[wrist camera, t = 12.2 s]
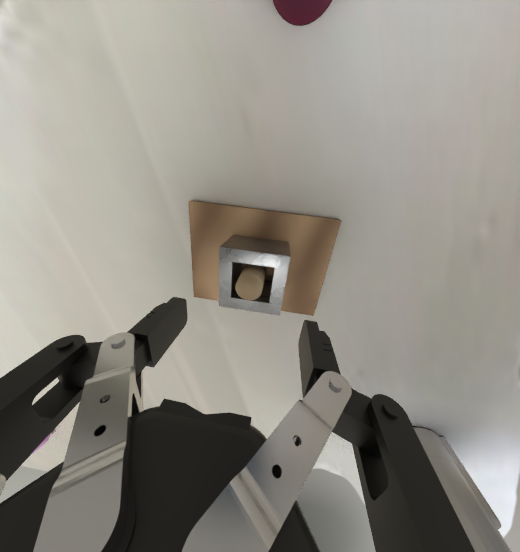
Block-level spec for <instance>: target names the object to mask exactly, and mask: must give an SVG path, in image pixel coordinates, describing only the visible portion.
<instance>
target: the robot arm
mask: <svg viewBox="0 0 520 552" xmlns="http://www.w3.org/2000/svg"><path fill="white" fill-rule="evenodd" d="M186 322H187V304H186V300H185V299H183V298H177V297H173V298H171V299H170V300H169V301H168V302H167V303H163V304H161V305H159V306H157V307H155V308H154V309H153V310H152V311H151V312H150V313H149V314H147V315H146V317H144V318H143V319H142V320H141V321H139V322H138V323H137V324H136V325H135V326H134V327H133V328H132V329H130V330H129V331H128V332H127V333H118V334H115V335H113V336H110V337H109V338H107V339H106V340H105V341H104V342H94V343H86V340H85V338H84V337H83V336H81V335H71V336H67V337H63V338H61V339H58V340H56V341H54V342H53V343H51V344H50V345H48V346H47V347H45V348H44V349H42V350H41V351H40V352H38V353H37V354H35V355H34V356H32V357H31V358H29V359H28V360H26V361H25V362H23V363H22V364H20V365H19V366H18V367H16V368H15V369H13V370H12V371H10V372H9V373H7V374H6V375H4V376H3V377H1V378H0V495H1V493H2V491H3V489H4V486H5V483H6V481H7V480H8V478H9V477H10V476H11V475H12V474H13V473H14V472H15V471H16V470H17V469H18V468H19V467H20V466H21V464H22V463H23V462H24V461H25V460H26V459H27V458H28V457H29V456H30V455H31V454H32V453H33V451H34V450H35V449H36V448H37V447H38V446H39V445H40V444H41V443H42V442H43V441H44V440H45V438H46V437H47V436H48V435H49V434H50V433H51V432H52V431H53V430H54V429H55V428H56V427H57V425H58V424H59V423H60V422H61V421H62V420H63V419H64V418H65V417H66V416H67V415H68V414H69V412H70V411H71V410H72V409H73V408H74V407H75V406H76V405H77V404H78V403H79V402H80V404H79V408H78V412H77V415H76V419H75V423H74V426H73V430H72V434H71V438H70V441H69V445H68V449H67V453H66V456H65V460H64V462H62V463H61V464H59V465H58V466H56V467H55V468H53V469H52V470H50V471H49V472H47V473H46V474H44V475H43V476H41V477H40V478H38V479H37V480H35V481H34V482H32V483H31V484H29V485H27V486H26V487H25V488H23V489H21V490H20V491H18V492H17V493H15V494H14V495H12V496H11V497H9V498H8V499H6V500H5V501H3V502H2V503H0V552H320V550H319V548H318V546H317V544H316V542H315V539H314V537H313V535H312V533H311V531H310V528H309V526H308V524H307V522H306V520H305V517H304V516H303V513H302V511H301V509H300V507H299V504H298V502H297V500H296V499H297V497H298V495H299V493H300V491H301V489H302V487H303V486H304V484H305V482H306V480H307V478H308V476H309V474H310V472H311V470H312V469H313V467H314V465H315V463H316V461H317V459H318V457H319V455H320V453H321V451H322V450H323V448H324V446H325V444H326V442H327V440H328V438H329V436H330V434H331V432H334V433H335V434H337V435H339V436H340V437H342V438H344V439H345V440H347V441H349V442H351V443H352V445H353V450H354V454H355V459H356V463H357V468H358V472H359V477H360V482H361V486H362V491H363V495H364V500H365V504H366V509H367V514H368V518H369V523H370V527H371V532H372V536H373V541H374V545H375V550H376V552H512V551H511V550H510V548H509V547H508V545H507V544H506V542H505V540H504V539H503V537H502V536H501V534H500V532H499V531H498V529H499V528H501V523H500V521H499V520H498V518H497V516H496V515H495V513H494V512H493V510H492V509H491V507H490V506H489V504H488V503H487V501H486V500H485V498H484V497H483V495H482V494H481V492H480V491H479V489H478V488H477V486H476V485H475V483H474V481H473V480H472V478H471V477H470V475H469V474H468V472H467V471H466V469H465V468H464V466H463V465H462V463H461V462H460V460H459V459H458V457H457V456H456V454H455V453H454V451H453V449H452V448H451V446H450V445H449V443H448V442H447V440H446V439H445V438H444V437H440V436H438V435H437V434H436V433H434V432H433V431H431V430H428V429H424V428H415V427H413V426H412V424H411V422H410V420H409V418H408V416H407V414H406V412H405V411H404V409H403V408H402V407H401V406H400V405H399V404H398V403H397V402H396V401H394V400H393V399H391V398H390V397H388V396H385V395H381V394H377V395H374V396H373V397H372V399H371V398H369V397H367V396H365V395H363V394H361V393H359V392H357V391H355V390H353V389H352V388H351V386H350V384H349V383H348V381H347V380H346V379H345V378H344V377H343V376H342V375H341V374H340V371H339V367H338V364H337V361H336V357H335V354H334V352H333V348H332V344H331V341H330V338H329V337H328V335H327V334H326V333H325V332H324V331H319V328H318V324H317V322H314V321H308V320H305V321H304V323H303V327H302V331H301V334H300V338H299V358H300V370H301V381H302V393H303V400H302V401H301V400H299V401H298V402H297V403H296V404H295V405H294V406H293V408H292V409H291V410H290V411H289V413H288V414H287V415H286V416H285V418H284V419H283V420H282V421H281V423H280V424H279V425H278V426H277V428H276V429H275V430H274V431H273V433H272V434H271V435H270V436H269V438H268V439H266V438H265V436H264V435H263V434H262V433H261V432H260V431H259V430H257V429H256V428H255V427H253V426H251V425H250V423H251V417H248V416H243V415H238V414H233V413H219V414H203V413H201V412H199V411H197V410H196V409H194V408H192V407H191V406H189V405H187V404H185V403H182V402H177V401H172V400H167V399H164V400H163V402H162V403H161V405H160V407H154V408H150V409H147V410H144V408H143V372H142V370H143V369H144V367H145V366H150V367H154V366H155V365H156V364H157V362H158V361H159V360H160V358H161V357H162V356H163V354H164V353H165V352H166V350H167V349H168V348H169V346H170V345H171V344H172V342H173V341H174V340H175V338H176V337H177V336H178V335H179V333H180V332H181V331H182V329H183V328H184V327H185V325H186ZM57 377H58V379H59V382H58V383H57V384H56V385H55V386H54V387H53V388H52V389H50V390H49V391H48V392H47V393H46V394H45V395H44V396H42V397H41V398H40V399H39V400H38V401H37V402H36V403H35V404H33V405H32V402H33V400H34V398H35V397H36V395H37V394H38V393H39V392H40V391H42V390H43V389H44V388H45V387H46V386H47V385H49V384H50V383H51V382H52V381H53V380H54V379H56V378H57Z"/></svg>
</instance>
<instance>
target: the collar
mask: <svg viewBox="0 0 520 552" xmlns="http://www.w3.org/2000/svg"><path fill="white" fill-rule="evenodd" d="M290 257H291V255H290V247H289V242H287V241H279V240H271V239H264V238H256V237H248V236H241V235H232V236H231V237H230V238H229V239H228V240H227V241H226V242H224V243H223V244H222V245H221V246H220V247H219V306H223V307H229V308H236V309H242V310H249V311H255V312H261V313H268V314H274V315H280V311H281V306H282V300H283V295H284V290H285V284H286V279H287V273H288V268H289V263H290ZM242 263H245V264H252V265H260V266H267V267H274V271H273V277H272V281H271V280H264V284H263V289H262V293H261V295H260V296H259V297H258V298H257V299H255V300H245V299H243V298H241V297H240V296H239V295H238V294H237V292H236V289H235V286H236V283H237V281H238V279H239V277H240V275H241V273H242Z"/></svg>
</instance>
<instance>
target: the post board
mask: <svg viewBox="0 0 520 552" xmlns="http://www.w3.org/2000/svg"><path fill="white" fill-rule="evenodd" d="M189 216H190V234H191V252H192V270H193V288H194V297H198V298H205V299H211V300H217V301H219V247H220V246H221V245H222V244H223V243H224V242H226V241H227V240H228V239H229V238H230V237H231V236H232V235H241V236H248V237H256V238H264V239H271V240H279V241H287V242H289V247H290V255H291V257H290V263H289V268H288V273H287V279H286V284H285V290H284V295H283V300H282V306H281V311H287V312H293V313H300V314H306V315H312V316H313V315H314V312H315V308H316V305H317V302H318V298H319V295H320V291H321V288H322V285H323V281H324V278H325V274H326V271H327V268H328V264H329V261H330V257H331V254H332V251H333V247H334V244H335V240H336V237H337V234H338V230H339V227H340V223H341V220H339V219H332V218H324V217H316V216H308V215H301V214H293V213H285V212H277V211H269V210H262V209H254V208H246V207H238V206H230V205H223V204H215V203H207V202H199V201H189ZM273 271H274V267H267V266H260V265H252V264H245V263H242V273H241V275H240V277H239V279H238V281H237V283H236V286H235V289H236V292H237V294H238V295H239V296H240V297H241V298H243V299H245V300H255V299H257V298H258V297H259V296H260V295H261V293H262V289H263V284H264V280H271V281H272V277H273Z"/></svg>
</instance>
